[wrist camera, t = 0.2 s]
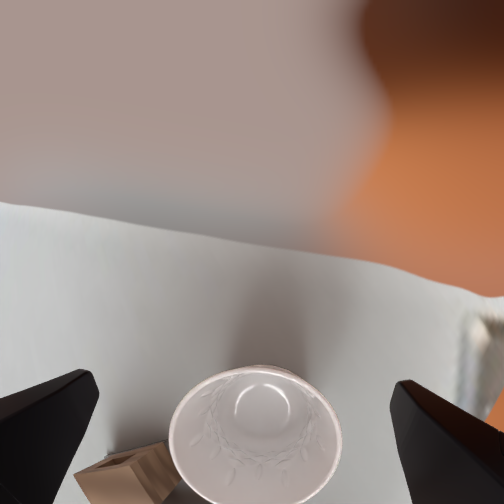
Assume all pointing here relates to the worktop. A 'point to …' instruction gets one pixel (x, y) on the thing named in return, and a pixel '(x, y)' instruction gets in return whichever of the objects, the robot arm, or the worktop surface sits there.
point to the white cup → (255, 437)
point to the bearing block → (137, 479)
